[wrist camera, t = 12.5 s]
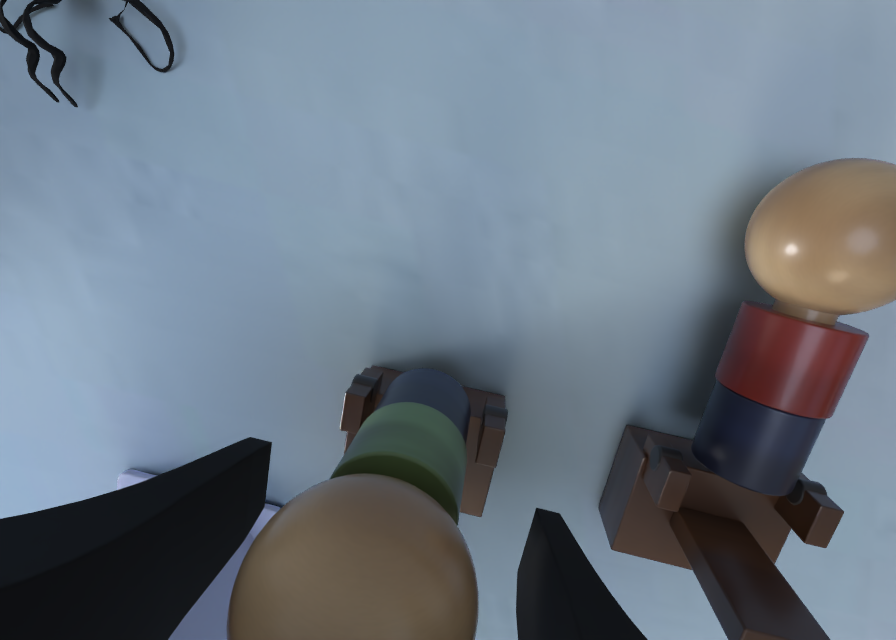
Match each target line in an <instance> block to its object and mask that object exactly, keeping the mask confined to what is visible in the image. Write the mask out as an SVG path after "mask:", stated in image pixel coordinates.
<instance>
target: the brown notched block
mask: <svg viewBox="0 0 896 640" xmlns="http://www.w3.org/2000/svg"><path fill="white" fill-rule="evenodd" d="M403 373H404V372H400V371H395V370H391V369H387V368H383V367H378V366H374V365H372V366H371V368H365V369H364V371H363V372H362V373H361V374H357V375H356V376H355V377H354V379H353V381H352V384H351V386H350V388H349V389H348V390H347V391H346V393H345V397H344V404H343V410H342V417H341V423H340V430H342V431H346V432H347V436H346V442H345V448H344V454H345V452H346V451H347V449H348V447H349V446H350V444H351V442H352V441H353V439H354V437H355V436H356V434H357V432H358V431H359V429H360V427H361V426H362V424H363V423H364V421H365V420H366V419H367V418H368V417H369V416H370V415H371V414H372V413H373V412H374V411H375V409H376V407H377V405H378V404H379V402H380V400H381V399H382V397H383V395H384V393H385V392H386V390H387V388H388V387H389V385H390V384H391V383H392V381H393V380H394V379H396V378H397V377H398V376H399V375H401V374H403ZM462 388H463V389H464V391H465V392H466V394H467V396H468V399H469V402H470V407H471V417H470V423H469V429H468V435H467V442H466V450H467V465H466V472H465V479H464V486H463V493H462V499H461V506H460V512H462V513H466V514H470V515H474V516H478V517H481V516H482V513H483V510H484V506H485V502H486V498H487V494H488V490H489V486H490V483H491V479H492V475H493V471H494V468H495V467H496V466H497V462H498V458H499V454H500V450H501V447H502V443H503V439H504V435H505V426H506V421H507V415H508V410H507V409H505V396H502V395H498V394H494V393H489V392H485V391H481V390H477V389H472V388H468V387H464V386H462ZM344 454H343V456H344Z"/></svg>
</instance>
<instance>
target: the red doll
mask: <svg viewBox="0 0 896 640" xmlns="http://www.w3.org/2000/svg"><path fill="white" fill-rule="evenodd" d="M745 256H746V260H747V264H748V267H749V269H750V271H751V273H752V275H753V277H754V278H755V280H756V281H757V283H758V284H759V285H760V286H761V287H762V288H763V289H764V290H765V291H766V292H767V293H768V294H770V295H771V296H772V297H773V298H775V301H774V304H773V305H771V304H766V303H760V302H754V301H743V302H742V304H741V307H740V310H739V312H738V315H737V317H736V320H735V323H734V325H733V328H732V331H731V333H730V336H729V338H728V341H727V344H726V346H725V349H724V352H723V354H722V357H721V360H720V362H719V365H718V367H717V370H716V373H715V377H716V379H717V380H716V382H715V385H714V388H713V390H712V393H711V395H710V398H709V401H708V403H707V406H706V409H705V411H704V414H703V416H702V419H701V422H700V424H699V427H698V430H697V432H696V435H695V437H694V440H693V443H692V445H691V450H692V453H693V455H694V457H695V458H696V459H697V460H698V461H699V462H700V463H701V464H702V465H704V466H705V467H706V468H708V469H709V470H710V471H712V472H713V473H715V474H717V475H718V476H720V477H722V478H724V479H726V480H727V481H729V482H732V483H734V484H736V485H738V486H741V487H743V488H746V489H748V490H751V491H754V492H758V493H762V494H766V495H772V496H785V495H788V494H790V493H791V492H792V491H793V489H794V487H795V485H796V483H797V481H798V479H799V476H800V474H801V472H802V470H803V468H804V466H805V463H806V461H807V459H808V457H809V455H810V453H811V450H812V448H813V446H814V444H815V442H816V440H817V437H818V435H819V433H820V431H821V429H822V427H823V424H824V422H825V420H826V418H830V417H831V416H832V415H833V413H834V411H835V409H836V407H837V405H838V402H839V400H840V398H841V396H842V394H843V392H844V389H845V387H846V385H847V383H848V381H849V379H850V377H851V374H852V372H853V370H854V368H855V366H856V364H857V361H858V359H859V357H860V355H861V353H862V351H863V348H864V346H865V344H866V342H867V340H868V338H869V334H868V333H866V332H864V331H862V330H860V329H857V328H855V327H852V326H849V325H846V324H843V323H840V322H837V319H838V317H839V315H847V314H855V313H860V312H865V311H869V310H872V309H875V308H878V307H881V306H884V305H886V304H888V303H891V302H893V301H895V300H896V165H895V164H892V163H889V162H885V161H880V160H874V159H866V158H845V159H838V160H832V161H827V162H823V163H819V164H816V165H813V166H810V167H808V168H805V169H803V170H801V171H799V172H797V173H795V174H793V175H791V176H789V177H788V178H786V179H785V180H783V181H782V182H780V183H779V184H778V185H777V186H776V187H774V188H773V189H772V190H771V191H770V192H769V193H768V194H767V195H766V196H765V197H764V198H763V199H762V201H761V202H760V203H759V204H758V206H757V207H756V209H755V211H754V212H753V214H752V216H751V219H750V221H749V223H748V227H747V230H746V235H745Z"/></svg>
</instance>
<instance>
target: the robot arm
mask: <svg viewBox="0 0 896 640" xmlns="http://www.w3.org/2000/svg"><path fill="white" fill-rule="evenodd" d="M271 446H272V442H268V441H264V440H260V439H256V438H252V437H250V438H247V439H244V440H241V441H239V442H237V443H234V444H232V445H230V446H227V447H225V448H223V449H220V450H218V451H216V452H214V453H211V454H209V455H207V456H204V457H202V458H200V459H197V460H195V461H193V462H190V463H188V464H186V465H183V466H181V467H179V468H176V469H173V470H171V471H168V472H166V473H163V474H160V475H158V476H156V475H152V474H149V473H145V472H141V471H137V470H133V469H128V470H125V471H124V472H123V473H121V474H120V475H119V476H118V481H117V490H116V491H113V492H110V493H106V494H103V495H100V496H96V497H93V498H90V499H86V500H82V501H78V502H74V503H70V504H66V505H62V506H58V507H54V508H50V509H45V510H41V511H37V512H33V513H28V514H23V515H18V516H13V517H8V518H3V519H0V640H227V617H228V608H229V602H230V597H231V593H232V589H233V585H234V582H235V579H236V576H237V573H238V571H239V568H240V566H241V564H242V561H243V559H244V557H245V555H246V553H247V551H248V550H249V548H250V546H251V544H252V543H253V541H254V539H255V538H256V536H257V535H258V534H259V532H260V531H261V530H262V529H263V527H264V526H265V525H266V524H267V522H268V521H269V520H270V519H271V517H272V516H273V515H274V514H275V513H277V512H278V511H279V510H280V509H281V508H279V507H277V506H274V505H270V504H266V503H265V499H266V490H267V481H268V472H269V463H270V455H271ZM516 617H517V630H518V640H647V638H646V637H645V636H644V635H643V634H642V633H641V631H640V630H639V629H638V628H637V627H636V626H635V624H634V623H633V622H632V621H631V619H630V618H629V617H628V616H627V614H626V613H625V612H624V610H623V609H622V608H621V606H620V605H619V604H618V602H617V601H616V600H615V598H614V597H613V596H612V594H611V593H610V592H609V590H608V589H607V587H606V586H605V585H604V583H603V582H602V580H601V579H600V577H599V576H598V574H597V573H596V571H595V570H594V568H593V567H592V565H591V564H590V562H589V561H588V559H587V557H586V556H585V554H584V553H583V551H582V549H581V548H580V546H579V545H578V543H577V541H576V540H575V538H574V536H573V535H572V533H571V531H570V530H569V528H568V526H567V525H566V523H565V521H564V520H563V518H562V517H561V515H560V513H556V512H552V511H548V510H543V509H539V508H536V511H535V514H534V517H533V521H532V524H531V528H530V531H529V534H528V538H527V541H526V545H525V548H524V551H523V555H522V558H521V562H520V565H519V568H518V573H517V599H516Z"/></svg>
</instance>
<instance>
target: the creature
mask: <svg viewBox="0 0 896 640" xmlns="http://www.w3.org/2000/svg"><path fill="white" fill-rule="evenodd" d="M6 1H7V0H1V1H0V23H1V24H2V26H3V28H4V29H2V28H1V27H0V31H2V32H3V33H6V34H9V35H10V36H11V37H12V38H13V39H14V40H15V41H17V42H18V43H20V44H21V45H23V46H25V47H26V48H28V54H27V58H26V61H27V65H28V72H29V75H30V77H31V78H32V79H33V80H34V81H35V82H36V83H37V84H38V85H39V86H40V87H41V88H42V89H43V90H44V91H45V92H46V93H47V94H48V95H49V96H50V97H51V98H52V99H53V100H55V101H56V102H59V100H58V98H57V97H56V96H55V95H54V94H53V93H52V92H51V90H50V89H48V88H47V87H46V86H44V85H43V84H42V83H41V82H40V81H39V80H38V79H37V77H36V75H35V72H36V68H37V65H38V62H39V58H40V54H39V50H38V48H37V47H36V45H35V44H34V43H32V42H31V41H29V40H27V39H25V38H24V37H23V36H22V35H21V34H20V33H19V32H18V30H17V27H18V26H19V25H20V24H21V23H22V21H23V23H24V26H25V29H26V31H27V34H28V36H29V37H30V38H31V39H32V40H33V41H34V42H35V43H36V44H38V45H39V46H40V47H41V48H43V49H45V50H46V51H48V52H50V53H51V54H52V56H53V58H54V62H53V65H52V68H51V76H52V80H53V83H54V84H55V85H56V86H57V87H58V88H59V89H60V90H61V92H62V93H63V95H64V96H65V97H66V98H67V99H68V100H69V101H70V103H71V104H72V105H73V106H74V107H78V106H77V104H76V102H75V101H74V100H73V99H72V98H71V97H70V96H69V95H68V94H67V93H66V92H65V91H64V90H63V89H62V87H61V86H60V84H59V76H60V73H61V71H62V70H63V68H64V66H65V63H66V56H65V54H64V53H63V51H61V50H59V49H58V48H56V47H54V46H52V45H50V44H49V43H47V42H46V41H45V40H44V39H43V38H42V37H41V36H40V35H39V34H38V33H37V32H36V31H35V30H34V29H33V27H32V23H31V19H30V15H29V14H30V13H31V12H33V11H36V10H39V9H41V8H44V7H50V6H54V5H53V4H58V3H59V2H60V1H62V0H33V1H32V2H31V3H29V4H28V5H27V7H26V9H25V10H24V13H23V15H21V16H20V17H19V18H18V19H17V21H16V22H15V24H14V25H12V24H11V23H10V22H9V21H8V20H7V19H6V18H5V17H4V13H3V8H2V7H3V5H4V4H5V2H6ZM124 1H126V4H125V7H126V5H127V3H128V2H129V3H130V4H131V5H132V6H133V7H135V8H136V9H137V10H138V11H139V12H141V13H142V14H143V15H144V16H145V17H147V18H148V19H149V20H150V21H151V22H152V23H154V24H155V25H156V26H157V27H158V28H160V30H161V32H162V34H163V36H164V39H165V41H166V44H167V46H168V49H169V51H170V58H169V65H168V66H167V67H165V68H164V69H159V68H156V67H155V66H153V65H152V64H151V63H150V61H149V59H148V58H147V56H146V55H145V53H144V52H143V50H142V48H141V47H140V45H139V44H138V43H137V42H136V41H135V40H134V39H133V38H132V37H131V36H130V35H129V34H128V33H127V32H126V30H125V29H124V28H123V26H122V25H121V23H120V22H119V18H120V15H121V13H122V12H123V11H124V10H123V11H122V12H120V13H119V15H118V16H114V17H112V18H109V19H110V21H112V22H113V23H114V24H115V25H116V26H117V27H119V28H120V29H121V30H122V31H123V32H124V33H125V34H126V35H127V36H128V37H129V38H130V39H131V41H132V42H133V43H134V45H135V46H136V47H137V49H138V50H139V51H140V53H141V54H142V55H143V57H144V58H145V59H146V60H147V62H148V63H149V64H150V66H152V67H153V68H154V69H155V70H157V71H160V72H166V71H168V70H169V69H170V67H171V66H172V64H173V61H174V49H173V44H172V41H171V38H170V35H169V33H168V31H167V30H166V28H165V27H164V25H163V24H162V22H161V21H160V20H159V19H158V18H157V17H156V16H155V15H154V14H153V13H152V12H151V11H150V10H149V9H148V8H147V7H146V6H145V5H144V4H143V3H142V2H141V1H140V0H124ZM34 4H38V5H36V6H35V7H33V6H34ZM32 7H33V8H32ZM124 9H125V8H124Z"/></svg>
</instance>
